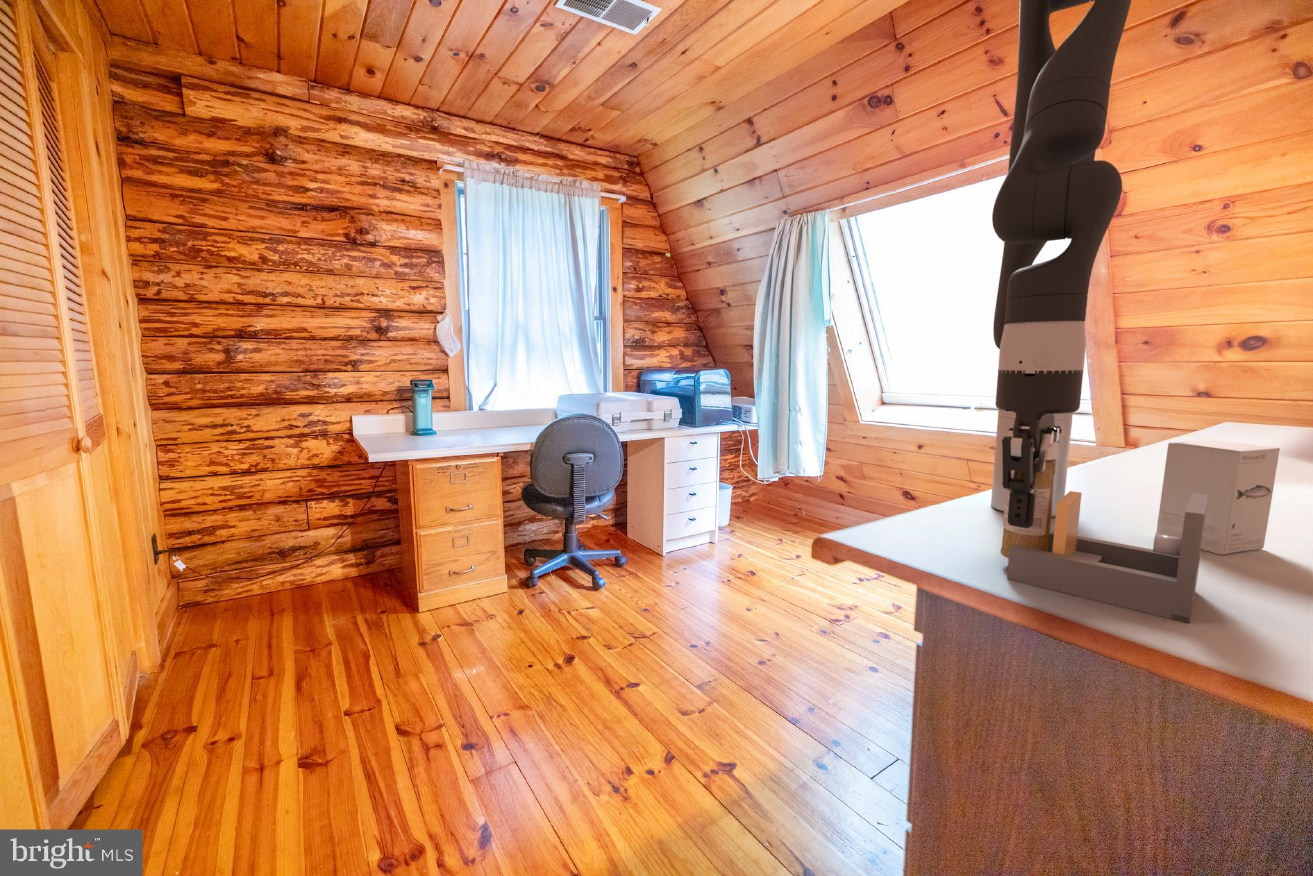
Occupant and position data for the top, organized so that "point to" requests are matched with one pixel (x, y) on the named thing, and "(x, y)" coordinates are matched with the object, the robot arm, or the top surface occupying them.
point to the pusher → (1069, 528)
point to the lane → (1124, 569)
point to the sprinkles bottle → (1042, 511)
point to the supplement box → (1220, 492)
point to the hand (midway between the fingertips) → (1025, 520)
